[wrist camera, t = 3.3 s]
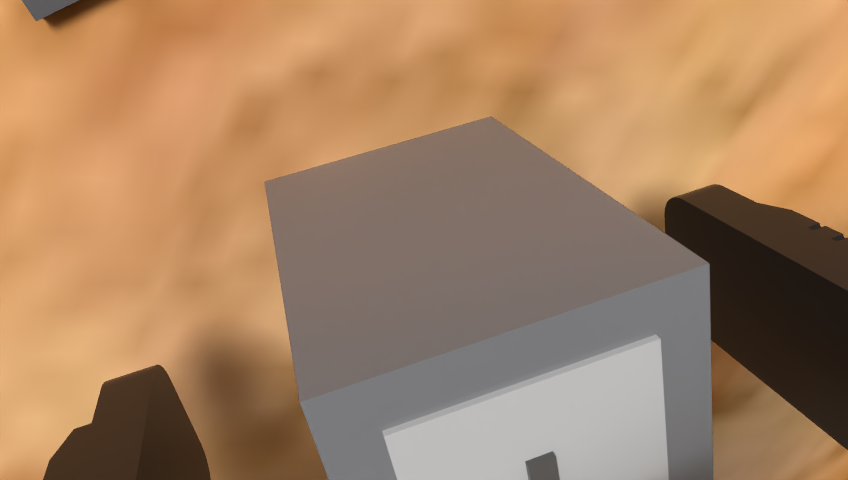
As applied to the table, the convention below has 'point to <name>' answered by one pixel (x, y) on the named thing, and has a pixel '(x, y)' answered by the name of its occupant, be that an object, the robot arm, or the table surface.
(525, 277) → the block
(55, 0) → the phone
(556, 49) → the table surface
